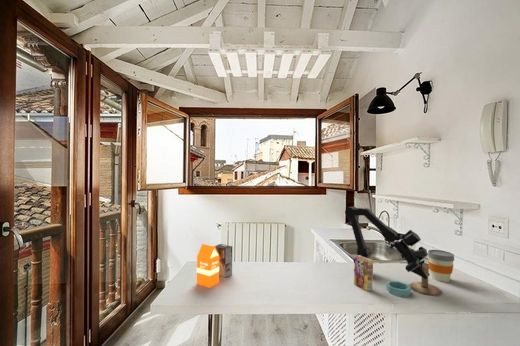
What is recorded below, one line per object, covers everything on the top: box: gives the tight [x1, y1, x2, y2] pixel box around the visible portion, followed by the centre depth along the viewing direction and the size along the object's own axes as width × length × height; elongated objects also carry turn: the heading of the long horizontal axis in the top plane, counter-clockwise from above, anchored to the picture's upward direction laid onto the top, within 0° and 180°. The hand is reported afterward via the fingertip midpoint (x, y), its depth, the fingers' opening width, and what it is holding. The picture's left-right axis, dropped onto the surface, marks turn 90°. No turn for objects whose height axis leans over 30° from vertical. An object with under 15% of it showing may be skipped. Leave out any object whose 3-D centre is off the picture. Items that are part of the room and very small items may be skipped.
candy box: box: [353, 255, 374, 291], centre depth 141 cm, size 9×4×15 cm, turn 26°
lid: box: [409, 262, 441, 296], centre depth 139 cm, size 13×13×13 cm
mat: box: [407, 283, 443, 297], centre depth 139 cm, size 15×15×1 cm
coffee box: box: [213, 243, 233, 278], centre depth 154 cm, size 9×6×16 cm
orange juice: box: [196, 243, 220, 288], centre depth 142 cm, size 8×9×20 cm
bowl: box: [386, 280, 412, 298], centre depth 136 cm, size 10×10×4 cm
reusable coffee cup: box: [427, 249, 455, 283], centre depth 153 cm, size 12×12×15 cm
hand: (428, 277), depth 138 cm, fingers open, 5 cm apart
